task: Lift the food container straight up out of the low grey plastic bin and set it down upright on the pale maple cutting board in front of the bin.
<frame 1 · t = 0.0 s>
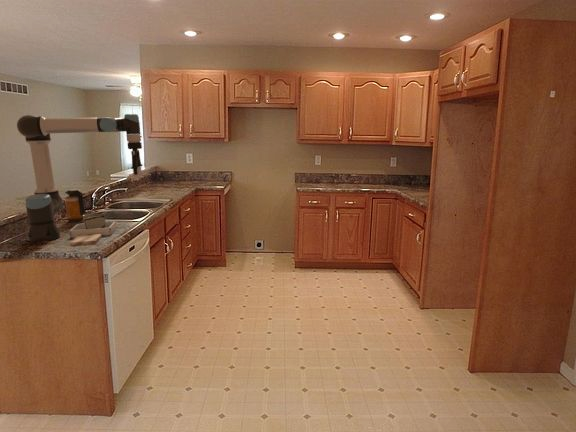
hand: (138, 179, 234), 28 cm above the counter, tool pointing down, fingers open, 13 cm apart
food container: (94, 233, 226), resting in bin
board: (86, 240, 210), on the counter
bin: (94, 232, 226), on the counter
canister: (77, 221, 258), on the counter
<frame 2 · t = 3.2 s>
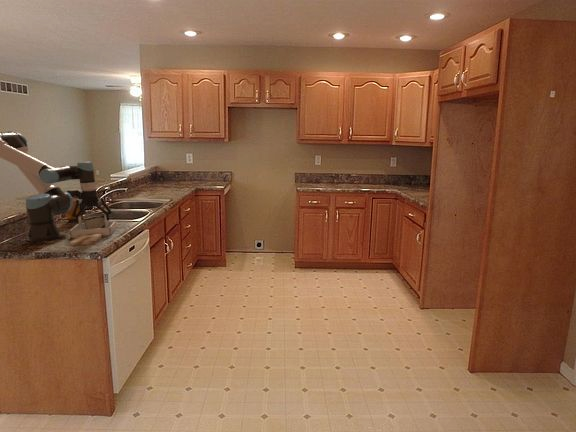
hand: (94, 227, 226), 3 cm above the counter, tool pointing down, fingers open, 13 cm apart
food container: (94, 233, 226), resting in bin, touching gripper
everything else where it was.
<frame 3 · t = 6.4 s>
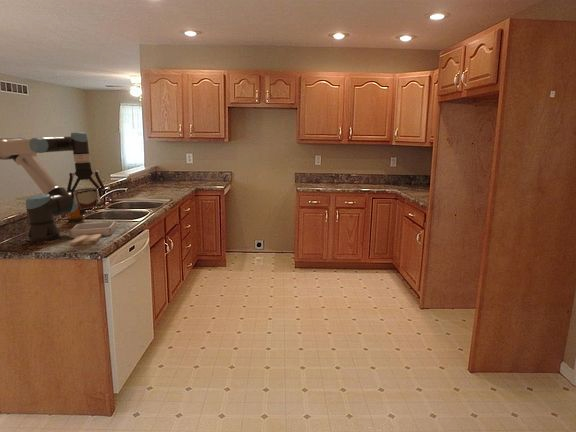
hand: (88, 203, 218), 18 cm above the counter, tool pointing down, fingers closed on food container, 11 cm apart
food container: (85, 207, 218), point 15 cm above the counter, touching gripper
everything else where it was.
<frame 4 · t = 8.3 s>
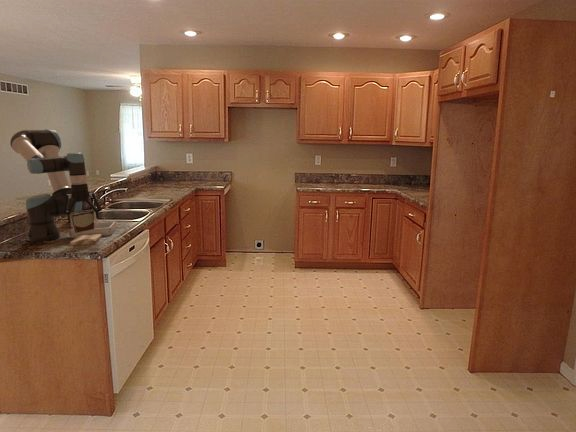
hand: (84, 225, 208), 8 cm above the counter, tool pointing down, fingers closed on food container, 11 cm apart
food container: (82, 230, 208), point 6 cm above the counter, touching gripper
everything else where it was.
when the fingers open (5 cm above the counter, at t = 9.4 s): food container drops 1 cm, resting on board.
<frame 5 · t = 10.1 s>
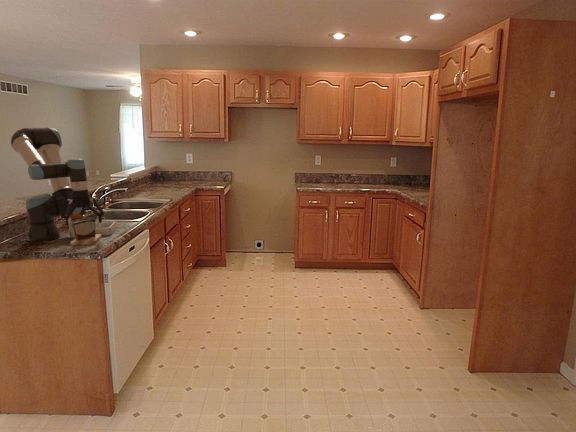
hand: (85, 230, 209), 6 cm above the counter, tool pointing down, fingers open, 13 cm apart
food container: (83, 238, 209), point 1 cm above the counter, touching board
everything else where it was.
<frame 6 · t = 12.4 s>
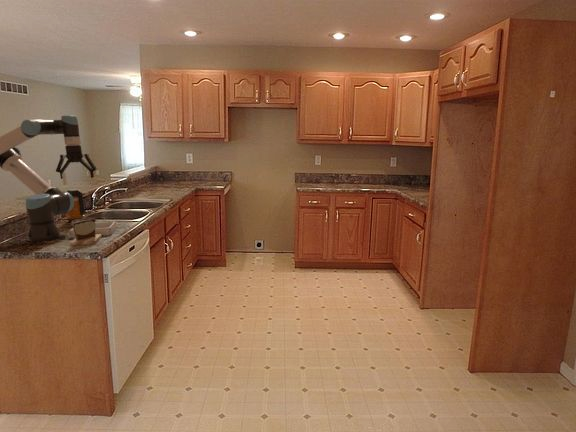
hand: (78, 184, 221), 28 cm above the counter, tool pointing down, fingers open, 13 cm apart
nothing on the counter moved.
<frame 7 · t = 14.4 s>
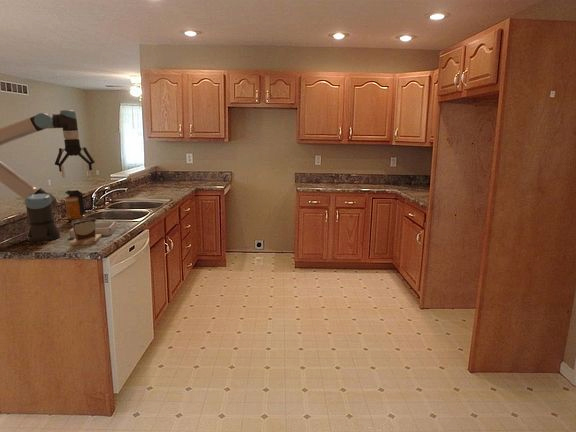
hand: (76, 176, 229), 31 cm above the counter, tool pointing down, fingers open, 13 cm apart
nothing on the counter moved.
at the end: food container inside the target area on the board (1.3 cm from its centre), point 1.3 cm above the board's base; food container tilted 0°; the gripper is holding nothing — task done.
